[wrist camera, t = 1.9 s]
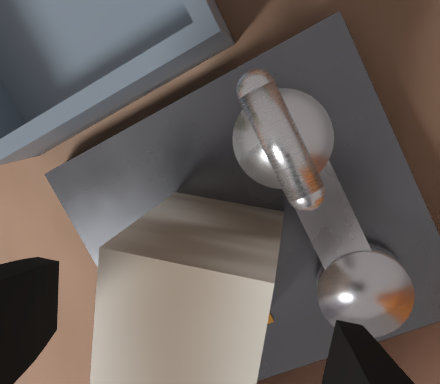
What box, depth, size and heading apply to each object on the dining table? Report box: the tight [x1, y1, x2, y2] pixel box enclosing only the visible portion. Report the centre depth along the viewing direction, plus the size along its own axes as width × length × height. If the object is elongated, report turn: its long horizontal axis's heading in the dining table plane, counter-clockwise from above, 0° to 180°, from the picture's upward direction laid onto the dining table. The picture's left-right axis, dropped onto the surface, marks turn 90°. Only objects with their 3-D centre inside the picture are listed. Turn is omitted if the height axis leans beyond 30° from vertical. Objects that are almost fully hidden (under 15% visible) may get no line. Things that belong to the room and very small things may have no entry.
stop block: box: [90, 192, 284, 384], centre depth 12 cm, size 4×4×6 cm
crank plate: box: [45, 11, 440, 381], centre depth 16 cm, size 12×11×1 cm
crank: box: [233, 69, 415, 337], centre depth 12 cm, size 9×3×5 cm, turn 28°
